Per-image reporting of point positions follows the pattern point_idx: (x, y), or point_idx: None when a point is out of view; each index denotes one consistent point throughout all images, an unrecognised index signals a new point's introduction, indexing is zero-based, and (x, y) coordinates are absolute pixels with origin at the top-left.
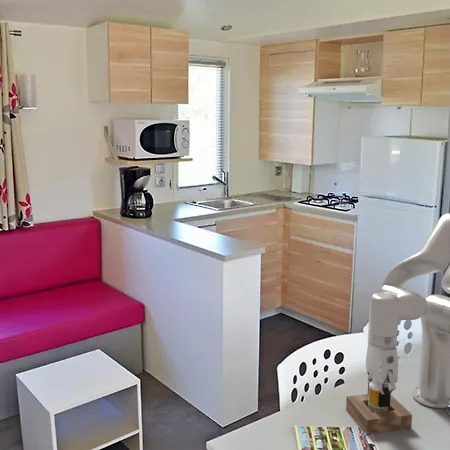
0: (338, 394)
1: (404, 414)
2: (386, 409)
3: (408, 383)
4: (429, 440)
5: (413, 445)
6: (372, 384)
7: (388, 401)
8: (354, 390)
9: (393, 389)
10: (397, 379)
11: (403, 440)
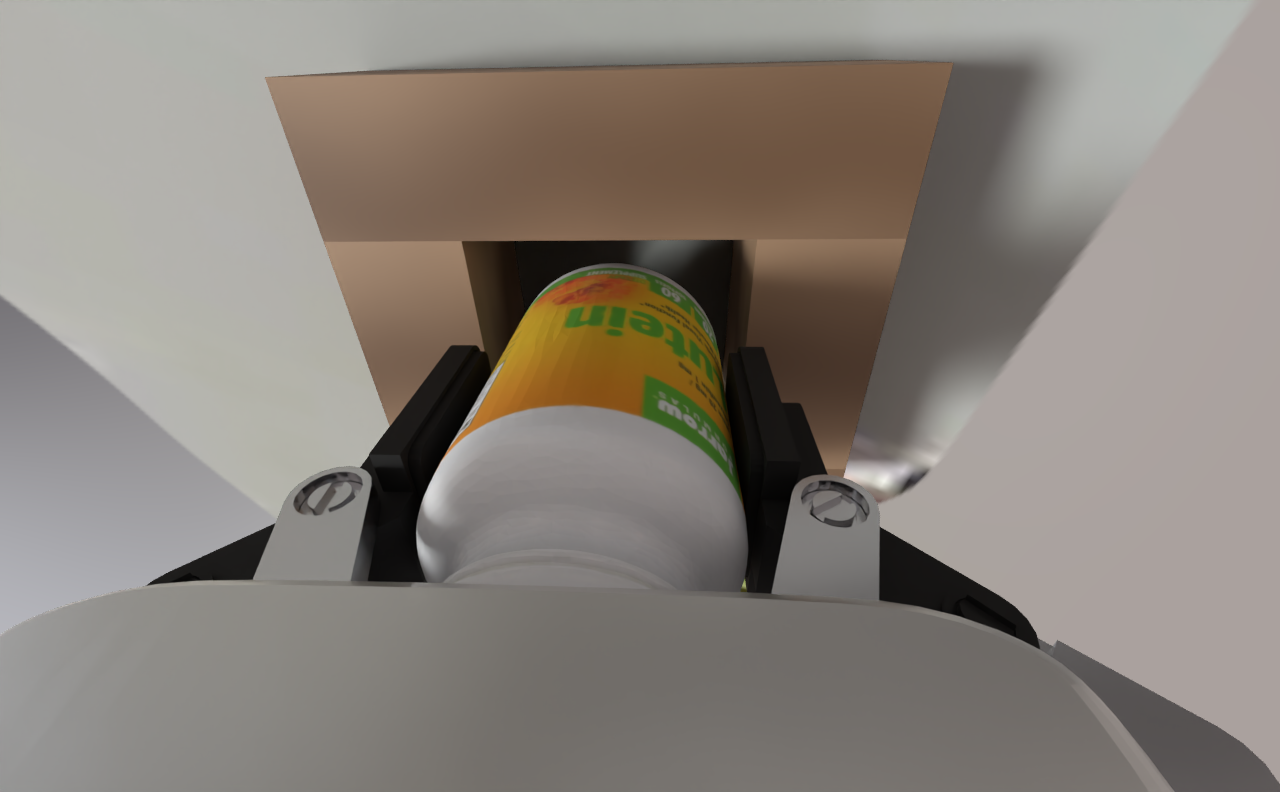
0: (241, 423)
1: (893, 176)
2: (709, 325)
3: None
4: None
5: (1112, 208)
6: None
7: (808, 426)
8: (123, 281)
9: (1169, 732)
10: (1162, 779)
11: (999, 255)
